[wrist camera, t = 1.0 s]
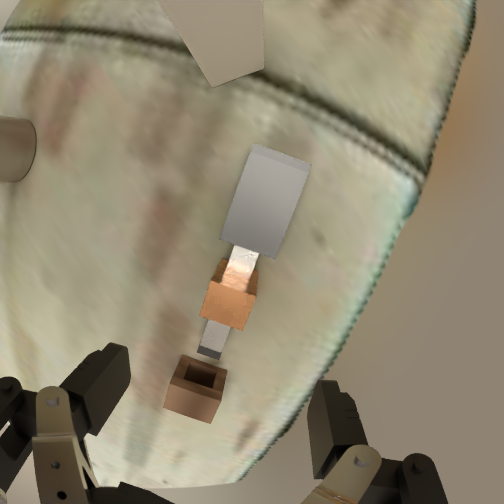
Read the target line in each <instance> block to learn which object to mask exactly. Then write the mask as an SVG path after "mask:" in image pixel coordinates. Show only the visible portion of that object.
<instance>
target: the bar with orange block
mask: <svg viewBox="0 0 504 504" xmlns="http://www.w3.org/2000/svg"><path fill="white" fill-rule="evenodd" d="M258 255H259V253H256V252H253V251H250V250H248V249H245V248H242V247H239V246H236V245H234V248H233V251H232V253H231V256H230V259H229V261H228V260H225V259H223V258H222V260H221V262H220V264H219V266H218V268H217V270H216V271H215V273H214V275H213V277H212V279H211V281H210V284H209V287H208V290H207V293H206V296H205V299H204V302H203V305H202V308H201V311H200V315H199V316H202V317H204V318H207V319H209V320H208V323H207V326H206V328H205V331H204V334H203V337H202V340H201V342H200V345H199V348H198V351H197V353H200V354H203V355H206V356H209V357H211V358H214V359H217V360H219V358H220V356H221V353H222V349H223V346H224V344H225V341H226V339H227V336H228V334H229V331H230V328H231V327H233V328H236V329H238V330H241V331H243V328H244V326H245V323H246V321H247V318H248V316H249V313H250V311H251V309H252V306H253V304H254V301H255V299H256V293H257V280H258V271H256V270H253V269H254V266H255V263H256V261H257V258H258Z"/></svg>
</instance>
